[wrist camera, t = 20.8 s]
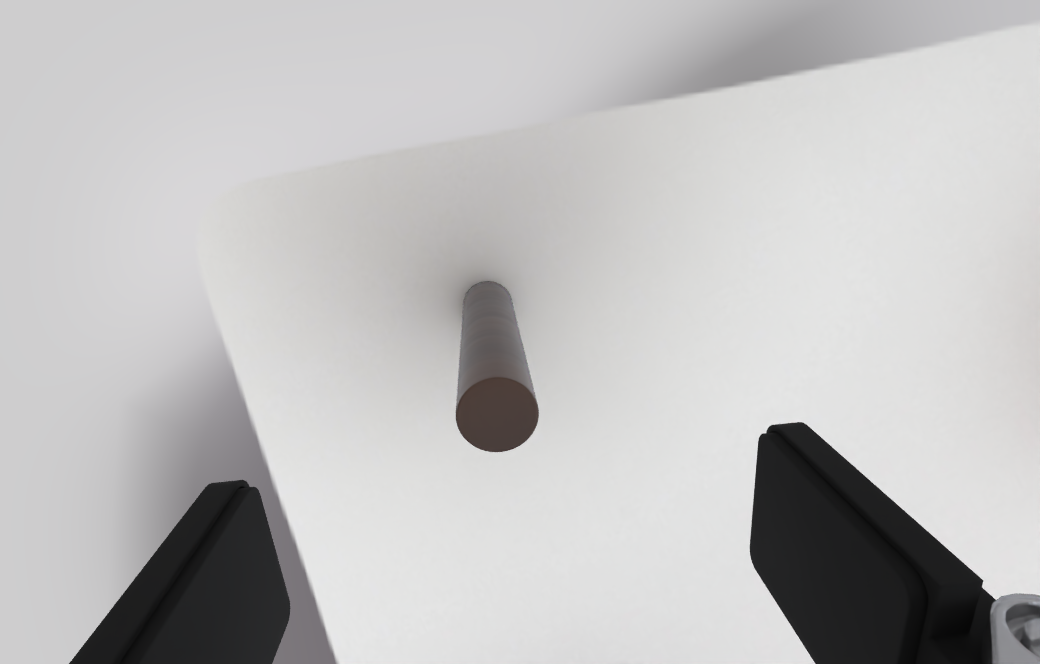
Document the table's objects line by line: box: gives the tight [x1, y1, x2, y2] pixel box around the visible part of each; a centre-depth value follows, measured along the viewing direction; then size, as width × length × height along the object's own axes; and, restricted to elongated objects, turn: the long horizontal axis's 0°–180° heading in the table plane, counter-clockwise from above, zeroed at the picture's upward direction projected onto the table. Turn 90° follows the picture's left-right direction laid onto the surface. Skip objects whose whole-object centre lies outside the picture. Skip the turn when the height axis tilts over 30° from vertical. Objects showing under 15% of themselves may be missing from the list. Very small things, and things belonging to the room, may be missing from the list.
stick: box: [456, 281, 539, 452], centre depth 22 cm, size 2×2×12 cm
